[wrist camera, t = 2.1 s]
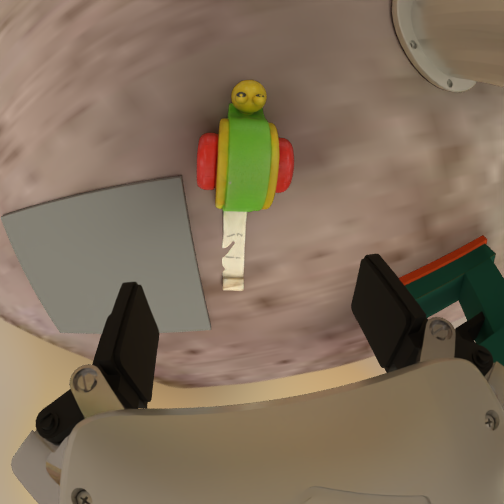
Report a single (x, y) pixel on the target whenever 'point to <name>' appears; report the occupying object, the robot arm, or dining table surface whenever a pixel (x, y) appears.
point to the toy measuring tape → (243, 170)
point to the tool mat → (112, 255)
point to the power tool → (465, 293)
